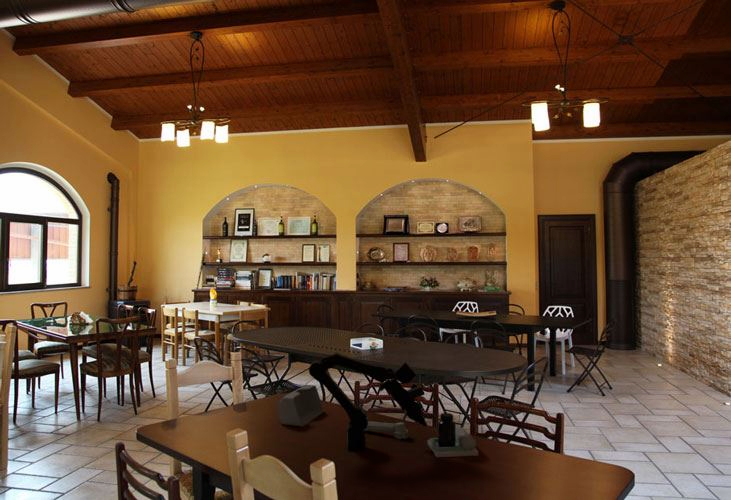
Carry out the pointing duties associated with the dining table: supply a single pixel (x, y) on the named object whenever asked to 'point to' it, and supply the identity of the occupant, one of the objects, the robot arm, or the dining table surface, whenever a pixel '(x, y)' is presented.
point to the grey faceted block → (300, 406)
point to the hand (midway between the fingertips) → (423, 422)
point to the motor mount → (462, 447)
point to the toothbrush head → (388, 428)
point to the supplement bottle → (446, 431)
